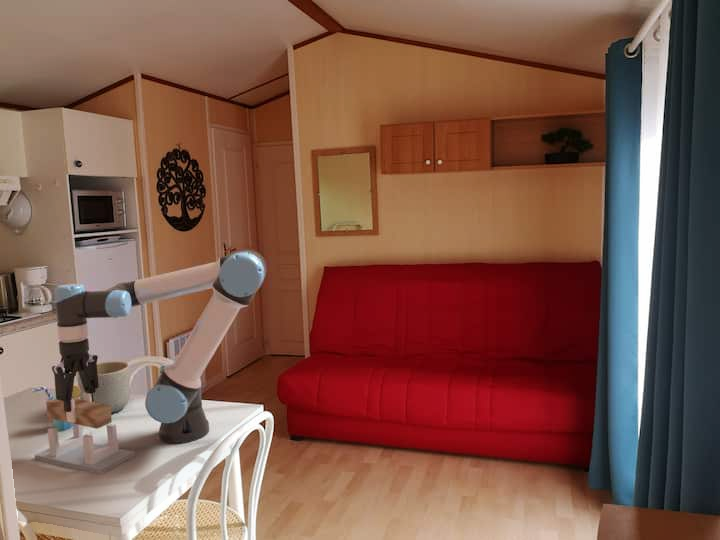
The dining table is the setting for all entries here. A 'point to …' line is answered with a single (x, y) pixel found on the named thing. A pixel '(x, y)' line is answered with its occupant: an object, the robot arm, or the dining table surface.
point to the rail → (81, 412)
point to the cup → (75, 394)
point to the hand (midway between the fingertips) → (80, 418)
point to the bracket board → (84, 451)
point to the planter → (111, 385)
